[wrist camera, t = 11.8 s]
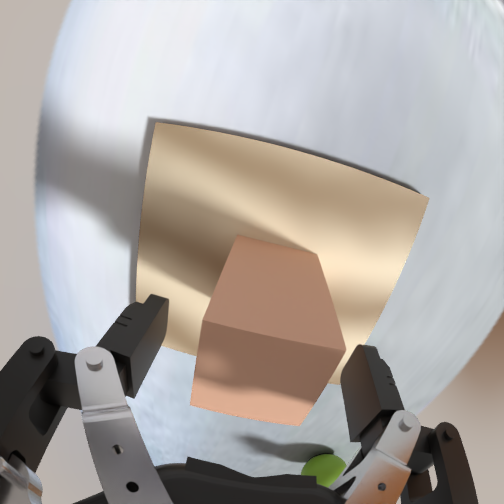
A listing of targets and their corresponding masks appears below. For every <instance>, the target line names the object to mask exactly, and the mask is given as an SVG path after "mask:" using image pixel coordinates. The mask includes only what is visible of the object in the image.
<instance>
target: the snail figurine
mask: <svg viewBox="0 0 504 504" xmlns="http://www.w3.org/2000/svg"><path fill="white" fill-rule="evenodd" d="M345 467H346V464H345V462H344V461H343V460H342V459H341V458H339V457H338V456H335V455H332V454H322V455H318V456H316V457H313V458H312V459H310V460H309V461H308V462H307V463H306V464H305V465H304V467H303V469H302V472H301V475H308V476H316V477H317V484H320V485H323V486H325V487H327V488H328V487H329V486H330V485H331V484H332V483H334V481H335V480H336V479H337V478H338V477H339V475H340V474H341V473H342V471H343V470H344V469H345Z"/></svg>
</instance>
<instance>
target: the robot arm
mask: <svg viewBox="0 0 504 504" xmlns="http://www.w3.org/2000/svg"><path fill="white" fill-rule="evenodd" d="M168 311H169V299H168V298H164V297H161V296H158V295H155V294H150V295H149V297H148V298H147V299H146V301H145V302H144V303H143V304H142V303H139V302H135V303H133V304H131V305H129V306H127V307H126V308H125V309H124V311H123V312H122V313H121V314H120V316H119V317H118V318H117V319H116V321H115V323H113V325H112V326H111V327H110V328H109V330H108V331H107V332H106V334H105V335H104V336H103V337H102V339H101V340H100V341H99V343H98V344H97V345H96V346H95V347H87V348H84V349H82V350H81V351H80V352H79V353H78V354H72V353H67V352H61V351H56V350H55V348H54V345H53V343H52V342H51V341H50V340H49V339H47V338H45V337H40V336H38V337H32V338H29V339H28V340H26V341H25V342H24V343H23V344H22V345H21V347H20V348H19V349H18V350H17V351H16V353H15V354H14V355H13V356H12V357H11V359H10V360H9V361H8V362H7V364H6V365H5V366H4V367H3V369H2V370H1V371H0V504H42V502H41V496H42V484H41V482H40V479H39V478H38V476H37V475H36V474H35V472H36V470H37V468H38V465H39V463H40V461H41V459H42V457H43V455H44V453H45V450H46V448H47V446H48V444H49V442H50V440H51V438H52V436H53V434H54V432H55V430H56V428H57V426H58V425H59V422H60V421H61V419H62V417H63V415H64V413H65V411H66V409H67V408H68V407H69V408H74V409H79V410H83V412H82V420H83V424H84V429H85V433H86V437H87V441H88V444H89V448H90V452H91V455H92V458H93V462H94V464H95V468H96V471H97V474H98V477H99V480H100V483H101V485H102V488H103V491H102V492H100V493H98V494H96V495H93V496H91V497H88V498H86V499H83V500H81V501H78V502H76V503H73V504H396V502H397V500H398V499H399V497H400V496H401V504H478V499H477V496H476V490H475V486H474V482H473V478H472V474H471V471H470V467H469V464H468V460H467V457H466V454H465V450H464V447H463V444H462V441H461V438H460V435H459V432H458V430H457V429H456V428H455V427H454V426H453V425H452V424H450V423H447V422H442V423H440V424H439V425H438V426H437V427H436V428H435V429H431V428H427V427H424V426H421V425H420V422H419V420H418V418H417V417H416V416H415V415H414V414H413V413H411V412H409V411H406V410H404V407H403V404H402V401H401V398H400V395H399V392H398V389H397V387H396V386H395V381H394V378H393V376H392V373H391V370H390V368H389V366H388V365H387V364H386V363H385V361H384V360H383V359H380V356H379V354H378V351H377V349H376V347H374V346H368V345H362V344H359V345H357V346H356V348H355V349H354V351H353V353H352V354H351V356H350V358H349V359H348V361H347V363H346V364H345V366H344V368H343V370H342V372H341V377H340V382H341V388H342V393H343V399H344V405H345V410H346V416H347V422H348V429H349V435H350V442H361V447H360V448H359V449H358V450H357V451H356V453H355V454H354V456H353V457H352V459H351V460H350V462H349V463H348V465H347V466H346V467H345V469H344V470H343V471H342V473H341V474H340V475H339V477H338V478H337V479H336V480H335V481H334V483H332V484H331V485H330V486H329V487H328V488H327V487H325V486H323V485H320V484H317V477H316V476H308V475H291V474H284V475H277V476H268V477H256V478H255V477H250V476H247V475H245V474H242V473H240V472H237V471H235V470H232V469H230V468H227V467H225V466H223V465H220V464H216V463H211V462H207V461H203V460H198V459H195V458H191V457H188V458H187V461H186V463H172V464H164V465H159V466H155V467H154V465H153V463H152V460H151V458H150V456H149V454H148V451H147V449H146V447H145V444H144V442H143V439H142V437H141V434H140V432H139V429H138V427H137V424H136V421H135V419H134V416H133V413H132V411H131V408H130V407H129V406H128V404H127V401H126V398H125V397H126V396H129V397H131V398H135V396H136V394H137V392H138V390H139V388H140V386H141V384H142V382H143V380H144V378H145V376H146V374H147V372H148V370H149V368H150V366H151V364H152V362H153V360H154V359H155V357H156V355H157V353H158V351H159V349H160V347H161V345H162V343H163V341H164V338H165V335H166V331H167V323H168ZM433 465H434V466H435V471H436V475H437V480H438V483H437V487H436V488H435V490H434V491H432V486H431V482H430V476H429V471H428V468H430V467H431V466H433Z"/></svg>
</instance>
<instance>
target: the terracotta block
mask: <svg viewBox="0 0 504 504" xmlns="http://www.w3.org/2000/svg"><path fill="white" fill-rule="evenodd" d="M346 350H347V349H346V346H345V342H344V338H343V335H342V331H341V328H340V325H339V321H338V318H337V314H336V311H335V308H334V304H333V301H332V298H331V295H330V292H329V288H328V285H327V282H326V279H325V276H324V273H323V270H322V267H321V264H320V261H319V258H318V255H317V254H314V253H310V252H306V251H302V250H298V249H294V248H290V247H286V246H282V245H278V244H274V243H270V242H265V241H261V240H257V239H253V238H249V237H245V236H241V235H237V237H236V239H235V241H234V244H233V246H232V249H231V251H230V253H229V256H228V258H227V261H226V263H225V265H224V268H223V270H222V273H221V275H220V278H219V280H218V282H217V285H216V287H215V290H214V292H213V295H212V297H211V300H210V302H209V305H208V307H207V310H206V312H205V315H204V317H203V320H202V326H201V332H200V338H199V345H198V351H197V358H196V365H195V372H194V379H193V386H192V393H191V401H190V405H192V406H195V407H199V408H203V409H207V410H211V411H215V412H219V413H224V414H228V415H233V416H238V417H243V418H248V419H254V420H259V421H266V422H272V423H279V424H286V425H295V426H300V425H301V423H302V422H303V420H304V419H305V417H306V416H307V415H308V413H309V412H310V410H311V409H312V407H313V405H314V404H315V402H316V401H317V399H318V398H319V396H320V395H321V393H322V391H323V390H324V388H325V387H326V385H327V383H328V382H329V380H330V378H331V377H332V375H333V373H334V372H335V370H336V368H337V366H338V365H339V363H340V361H341V359H342V358H343V356H344V354H345V352H346Z"/></svg>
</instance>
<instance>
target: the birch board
mask: <svg viewBox="0 0 504 504" xmlns="http://www.w3.org/2000/svg"><path fill="white" fill-rule="evenodd" d="M428 201H429V198H428V197H426V196H424V195H422V194H419V193H417V192H415V191H412V190H410V189H407V188H405V187H403V186H400V185H398V184H395V183H393V182H390V181H387V180H385V179H382V178H380V177H377V176H374V175H372V174H369V173H366V172H363V171H360V170H358V169H355V168H352V167H349V166H346V165H343V164H340V163H337V162H334V161H330V160H327V159H324V158H321V157H318V156H314V155H311V154H307V153H304V152H300V151H297V150H293V149H290V148H286V147H282V146H278V145H274V144H270V143H266V142H262V141H258V140H254V139H249V138H245V137H240V136H235V135H231V134H226V133H221V132H215V131H210V130H205V129H199V128H193V127H187V126H180V125H174V124H166V123H159V122H156V124H155V128H154V133H153V139H152V144H151V149H150V155H149V161H148V167H147V174H146V181H145V188H144V195H143V203H142V212H141V222H140V232H139V244H138V259H137V279H136V302H139V303H142V304H143V303H144V302H145V301H146V299H147V298H148V297H149V295H150V294H155V295H158V296H161V297H164V298H168V299H169V311H168V323H167V331H166V335H165V338H164V341H163V343H162V345H161V346H164V347H167V348H171V349H174V350H177V351H180V352H184V353H187V354H191V355H194V356H197V351H198V345H199V338H200V332H201V326H202V320H203V317H204V315H205V312H206V310H207V307H208V305H209V302H210V300H211V297H212V295H213V292H214V290H215V287H216V285H217V282H218V280H219V278H220V275H221V273H222V270H223V268H224V265H225V263H226V261H227V258H228V256H229V253H230V251H231V249H232V246H233V244H234V241H235V239H236V237H237V235H241V236H245V237H249V238H253V239H257V240H261V241H265V242H270V243H274V244H278V245H282V246H286V247H290V248H294V249H298V250H302V251H306V252H310V253H314V254H317V255H318V258H319V261H320V264H321V267H322V270H323V273H324V276H325V279H326V282H327V285H328V288H329V292H330V295H331V298H332V301H333V304H334V308H335V311H336V314H337V318H338V321H339V325H340V328H341V331H342V335H343V338H344V342H345V346H346V349H347V350H346V352H345V354H344V356H343V358H342V359H341V361H340V363H339V365H338V366H337V368H336V370H335V372H334V373H333V375H332V377H331V378H330V380H329V382H328V383H330V384H338V385H340V383H341V382H340V377H341V372H342V370H343V368H344V366H345V364H346V363H347V361H348V359H349V358H350V356H351V354H352V353H353V351H354V349H355V348H356V346H357V345H359V344H362V345H364V344H365V342H366V341H367V339H368V337H369V335H370V334H371V332H372V330H373V328H374V326H375V324H376V322H377V321H378V319H379V317H380V315H381V313H382V311H383V309H384V307H385V305H386V303H387V301H388V299H389V297H390V295H391V293H392V291H393V289H394V287H395V284H396V282H397V280H398V278H399V276H400V273H401V271H402V269H403V267H404V264H405V262H406V260H407V257H408V255H409V253H410V250H411V248H412V245H413V243H414V240H415V237H416V235H417V232H418V230H419V227H420V224H421V221H422V219H423V216H424V213H425V210H426V207H427V204H428Z"/></svg>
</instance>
